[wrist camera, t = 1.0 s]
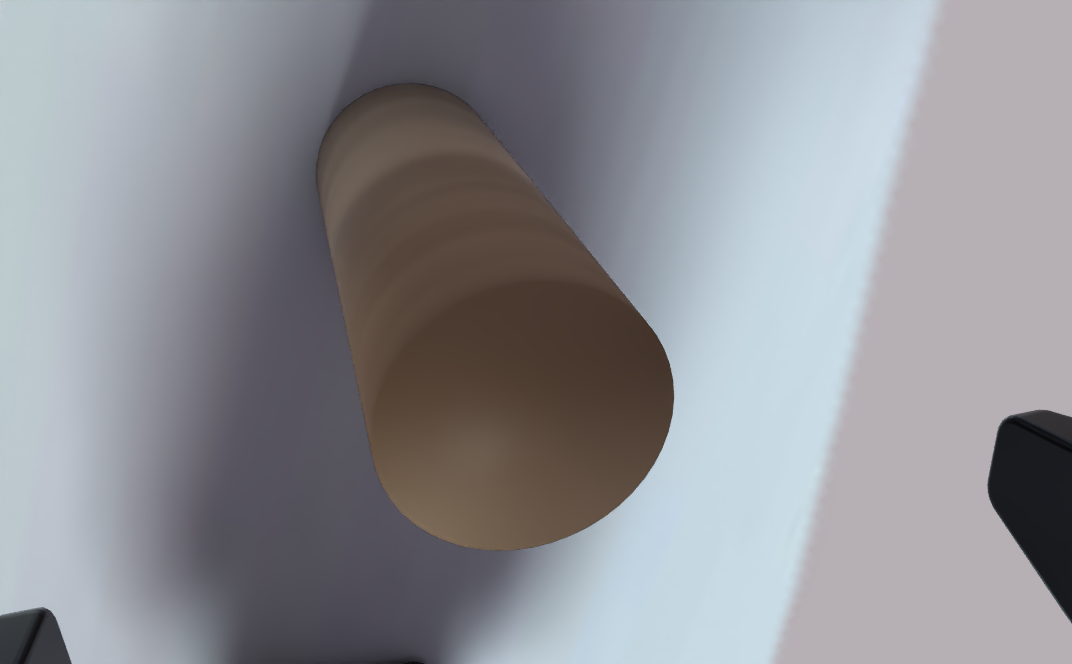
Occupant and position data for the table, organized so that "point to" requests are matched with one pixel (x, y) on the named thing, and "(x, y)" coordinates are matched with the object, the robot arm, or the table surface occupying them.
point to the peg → (482, 330)
